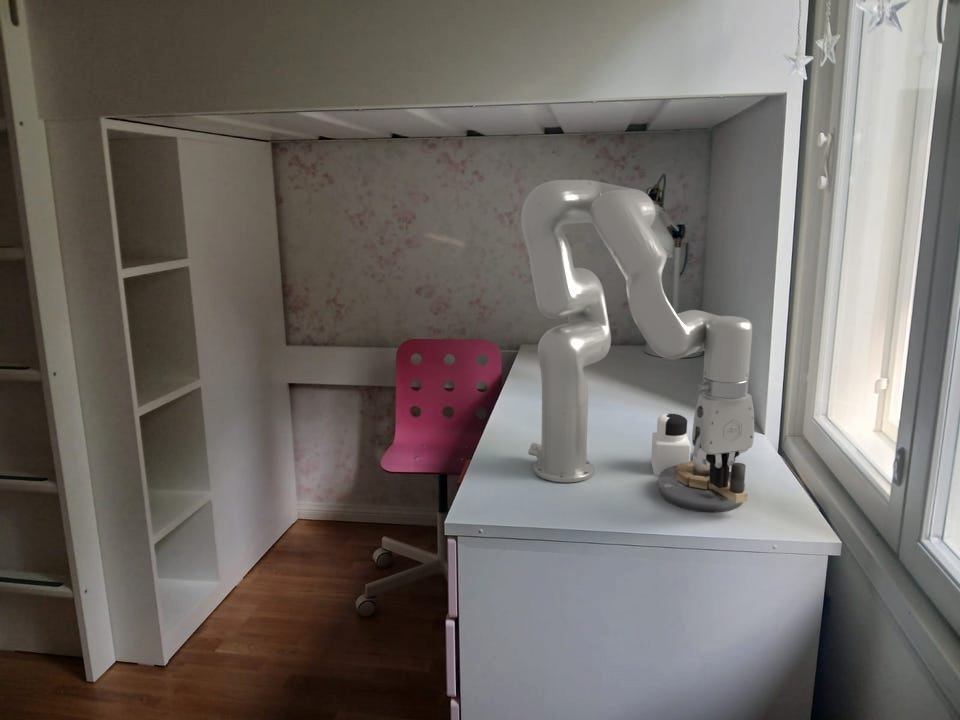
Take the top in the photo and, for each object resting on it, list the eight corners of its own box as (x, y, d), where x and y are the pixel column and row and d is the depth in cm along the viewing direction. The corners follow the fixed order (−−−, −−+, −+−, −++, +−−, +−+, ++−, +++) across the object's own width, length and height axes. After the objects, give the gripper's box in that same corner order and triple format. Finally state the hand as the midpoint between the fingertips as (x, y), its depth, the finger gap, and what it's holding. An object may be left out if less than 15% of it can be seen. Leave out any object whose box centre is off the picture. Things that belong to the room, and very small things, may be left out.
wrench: (666, 473, 144) (668, 441, 143) (706, 466, 147) (708, 435, 146) (719, 506, 129) (722, 471, 128) (762, 498, 133) (765, 464, 131)
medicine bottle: (684, 464, 157) (687, 411, 154) (689, 477, 150) (692, 422, 147) (650, 462, 158) (653, 410, 155) (653, 475, 151) (656, 421, 148)
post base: (643, 496, 142) (645, 447, 139) (681, 471, 153) (684, 426, 151) (722, 520, 131) (726, 468, 129) (756, 492, 143) (761, 444, 140)
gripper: (700, 397, 121) (694, 499, 125) (775, 388, 125) (766, 487, 130) (675, 386, 128) (670, 482, 132) (747, 378, 132) (740, 472, 137)
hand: (718, 484), depth 131 cm, fingers closed
